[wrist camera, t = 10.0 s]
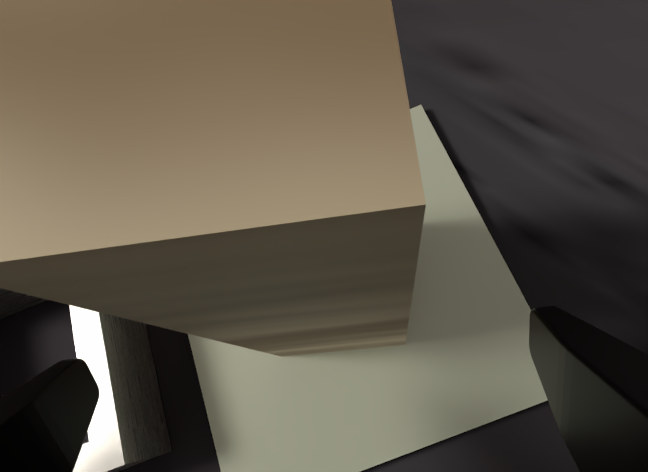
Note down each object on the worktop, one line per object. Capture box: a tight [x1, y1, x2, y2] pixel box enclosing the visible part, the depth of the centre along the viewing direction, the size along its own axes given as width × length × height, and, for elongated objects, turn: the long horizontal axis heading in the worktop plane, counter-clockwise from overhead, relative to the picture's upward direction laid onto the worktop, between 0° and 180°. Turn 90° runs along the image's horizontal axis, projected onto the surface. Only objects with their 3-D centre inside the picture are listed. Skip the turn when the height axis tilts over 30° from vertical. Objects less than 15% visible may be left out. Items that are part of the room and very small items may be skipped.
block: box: [0, 0, 426, 357], centre depth 11 cm, size 4×4×13 cm
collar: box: [0, 288, 172, 472], centre depth 16 cm, size 8×8×3 cm
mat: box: [188, 105, 548, 472], centre depth 17 cm, size 12×12×1 cm
